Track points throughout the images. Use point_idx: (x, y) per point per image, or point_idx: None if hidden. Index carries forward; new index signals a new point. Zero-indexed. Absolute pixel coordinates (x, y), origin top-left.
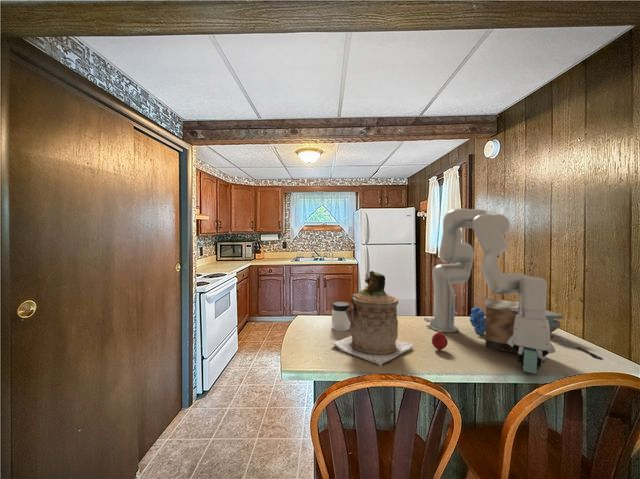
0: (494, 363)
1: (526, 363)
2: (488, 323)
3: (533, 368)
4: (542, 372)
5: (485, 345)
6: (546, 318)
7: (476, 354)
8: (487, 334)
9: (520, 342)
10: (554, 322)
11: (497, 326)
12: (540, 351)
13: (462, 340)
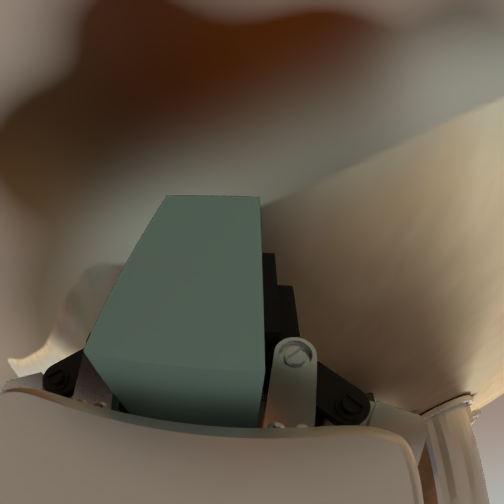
0: (408, 267)
1: (236, 235)
2: (424, 493)
3: (179, 214)
4: None
5: (373, 397)
6: None
7: (446, 320)
8: None
9: (330, 490)
10: None
11: None
12: (88, 389)
13: (429, 390)
